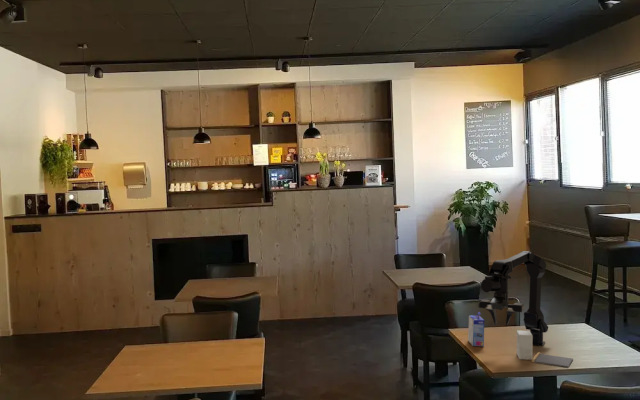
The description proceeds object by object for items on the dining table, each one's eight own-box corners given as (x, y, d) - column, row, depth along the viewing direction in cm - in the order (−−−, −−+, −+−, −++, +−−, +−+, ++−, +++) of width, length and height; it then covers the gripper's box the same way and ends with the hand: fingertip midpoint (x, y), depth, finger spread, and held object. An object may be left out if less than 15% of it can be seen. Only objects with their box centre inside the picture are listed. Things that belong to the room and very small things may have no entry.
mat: (537, 354, 258) (537, 352, 258) (573, 359, 251) (573, 357, 251) (531, 362, 248) (531, 359, 248) (568, 367, 240) (568, 364, 240)
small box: (532, 360, 251) (532, 335, 250) (518, 359, 252) (518, 334, 251) (529, 354, 259) (530, 330, 258) (516, 354, 260) (516, 330, 259)
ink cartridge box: (484, 346, 271) (485, 315, 271) (472, 346, 271) (472, 315, 271) (479, 340, 281) (479, 310, 281) (467, 340, 281) (468, 310, 281)
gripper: (474, 290, 257) (474, 326, 258) (518, 294, 248) (518, 332, 248) (482, 286, 267) (482, 321, 267) (525, 290, 257) (524, 326, 258)
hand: (501, 325), depth 260 cm, fingers open, 5 cm apart
